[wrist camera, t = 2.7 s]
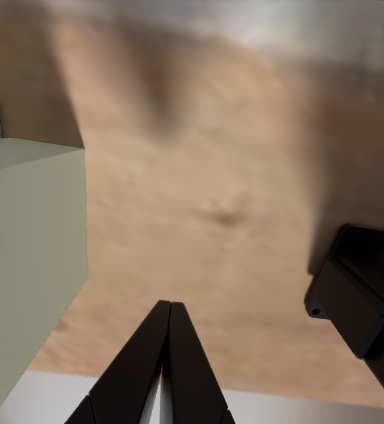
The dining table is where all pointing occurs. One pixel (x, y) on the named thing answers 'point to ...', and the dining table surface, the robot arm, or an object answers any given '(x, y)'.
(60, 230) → the slab
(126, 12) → the dining table surface
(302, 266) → the dining table surface
